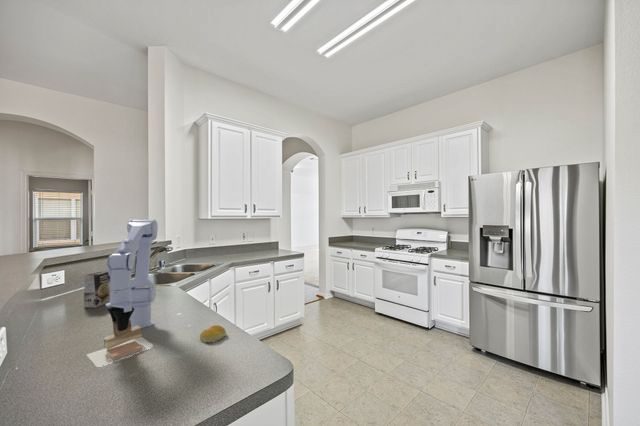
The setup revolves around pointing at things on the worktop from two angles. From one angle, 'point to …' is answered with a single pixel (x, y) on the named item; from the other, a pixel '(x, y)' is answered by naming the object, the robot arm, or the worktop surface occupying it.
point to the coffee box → (96, 289)
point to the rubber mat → (101, 357)
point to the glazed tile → (124, 350)
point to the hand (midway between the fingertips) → (120, 328)
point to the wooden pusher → (121, 335)
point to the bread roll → (212, 334)
